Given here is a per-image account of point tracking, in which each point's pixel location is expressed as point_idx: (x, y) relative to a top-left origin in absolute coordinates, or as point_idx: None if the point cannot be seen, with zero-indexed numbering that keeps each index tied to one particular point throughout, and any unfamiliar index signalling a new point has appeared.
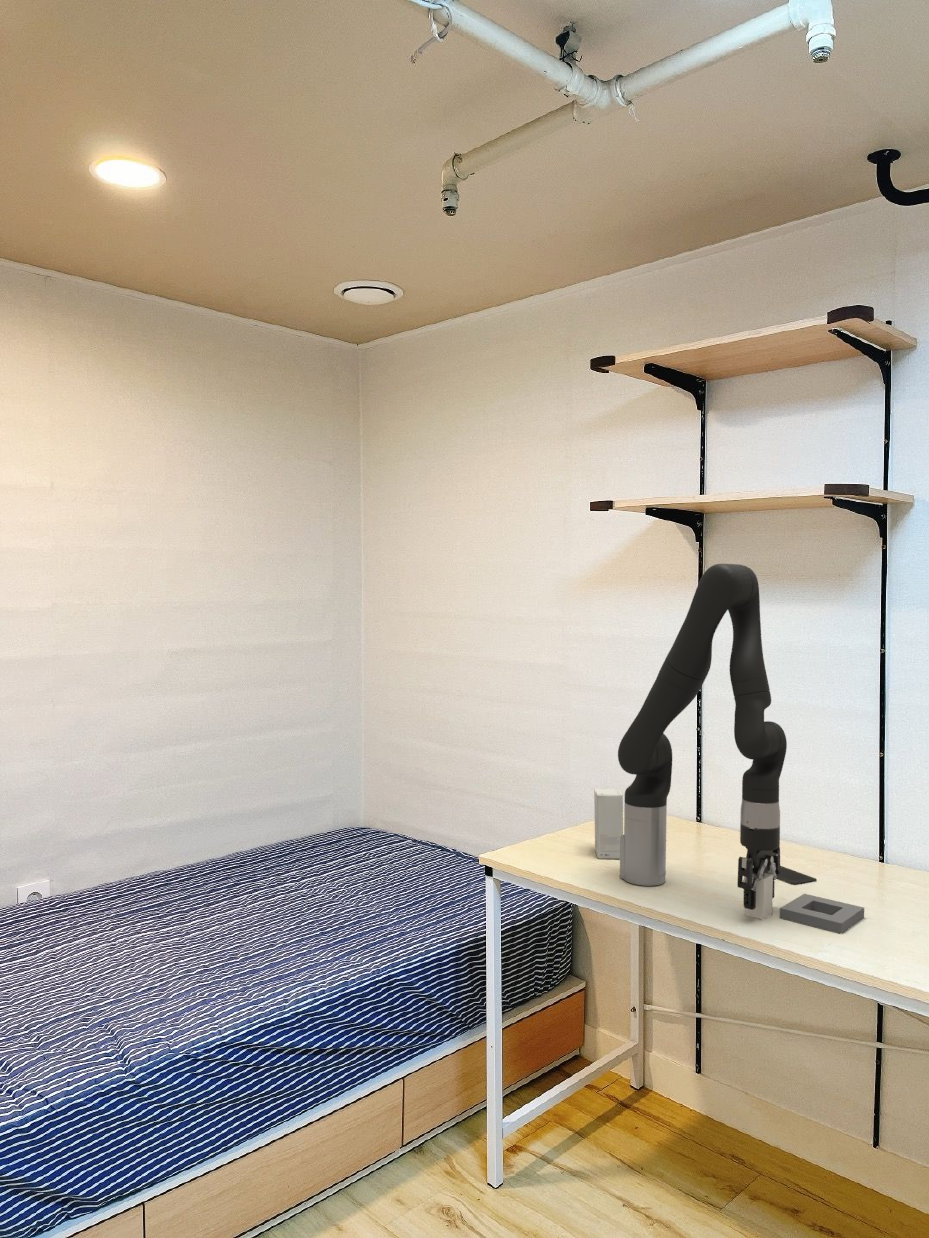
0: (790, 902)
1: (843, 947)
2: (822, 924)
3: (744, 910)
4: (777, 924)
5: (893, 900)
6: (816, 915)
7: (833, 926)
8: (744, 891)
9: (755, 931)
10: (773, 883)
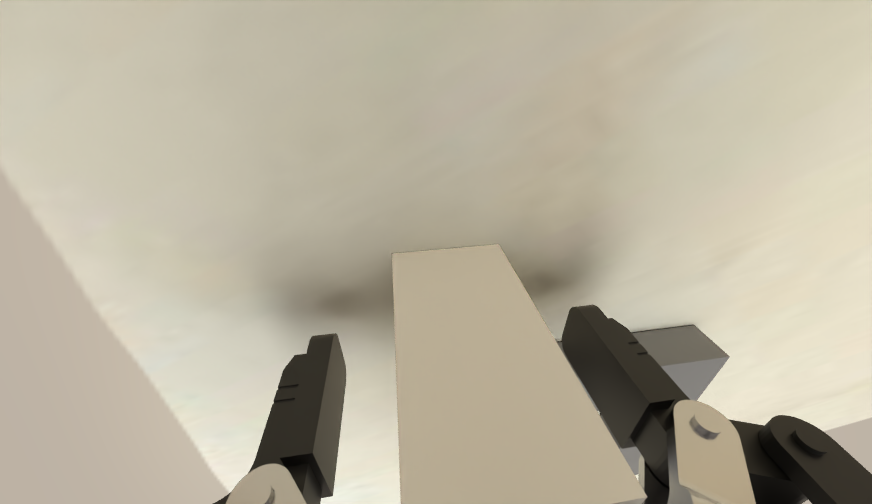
0: (578, 379)
1: (370, 500)
2: None
3: (392, 267)
4: (391, 377)
5: None
6: None
7: None
8: (258, 461)
9: (239, 376)
10: (616, 430)
